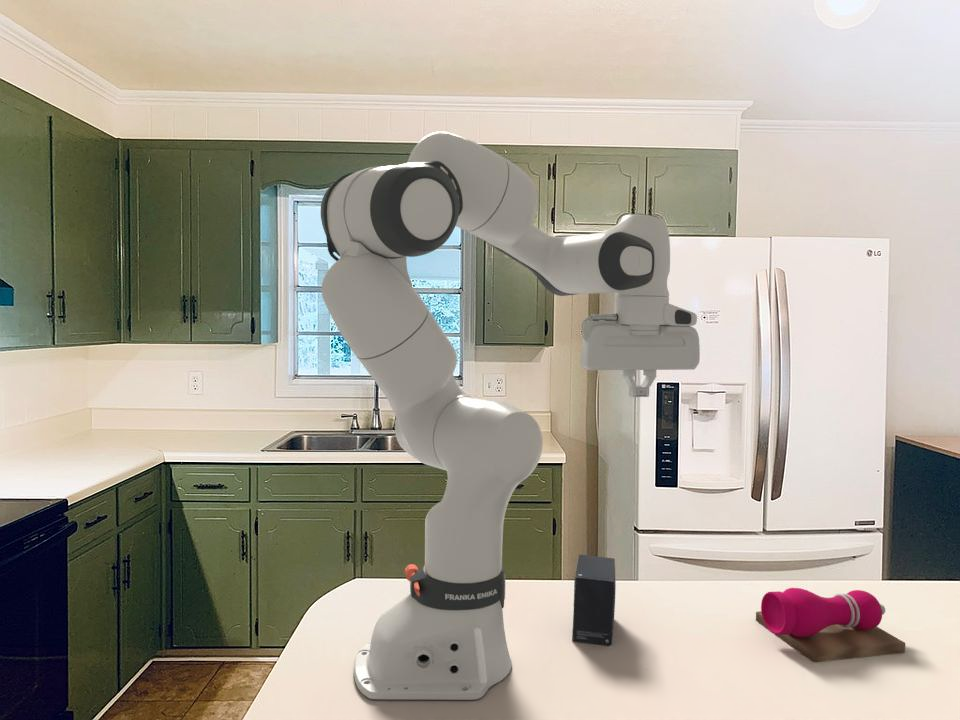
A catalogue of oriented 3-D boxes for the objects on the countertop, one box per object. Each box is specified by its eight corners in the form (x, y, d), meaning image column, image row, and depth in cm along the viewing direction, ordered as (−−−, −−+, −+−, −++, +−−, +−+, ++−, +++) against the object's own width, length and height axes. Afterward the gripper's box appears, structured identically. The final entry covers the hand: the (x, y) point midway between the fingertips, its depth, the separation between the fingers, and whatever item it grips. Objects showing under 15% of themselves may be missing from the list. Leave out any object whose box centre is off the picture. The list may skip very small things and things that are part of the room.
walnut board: (812, 662, 101) (813, 652, 100) (755, 620, 114) (756, 611, 114) (904, 652, 104) (905, 643, 104) (838, 612, 118) (838, 604, 117)
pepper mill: (788, 644, 101) (902, 639, 105) (787, 594, 102) (901, 591, 106) (758, 630, 108) (867, 626, 112) (758, 583, 109) (865, 581, 113)
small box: (614, 647, 104) (615, 580, 104) (571, 642, 106) (572, 576, 105) (614, 617, 115) (616, 556, 114) (575, 613, 116) (577, 553, 115)
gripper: (589, 313, 108) (587, 400, 109) (706, 315, 113) (703, 398, 114) (575, 313, 114) (573, 395, 115) (686, 314, 119) (684, 393, 120)
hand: (638, 396), depth 114 cm, fingers closed
